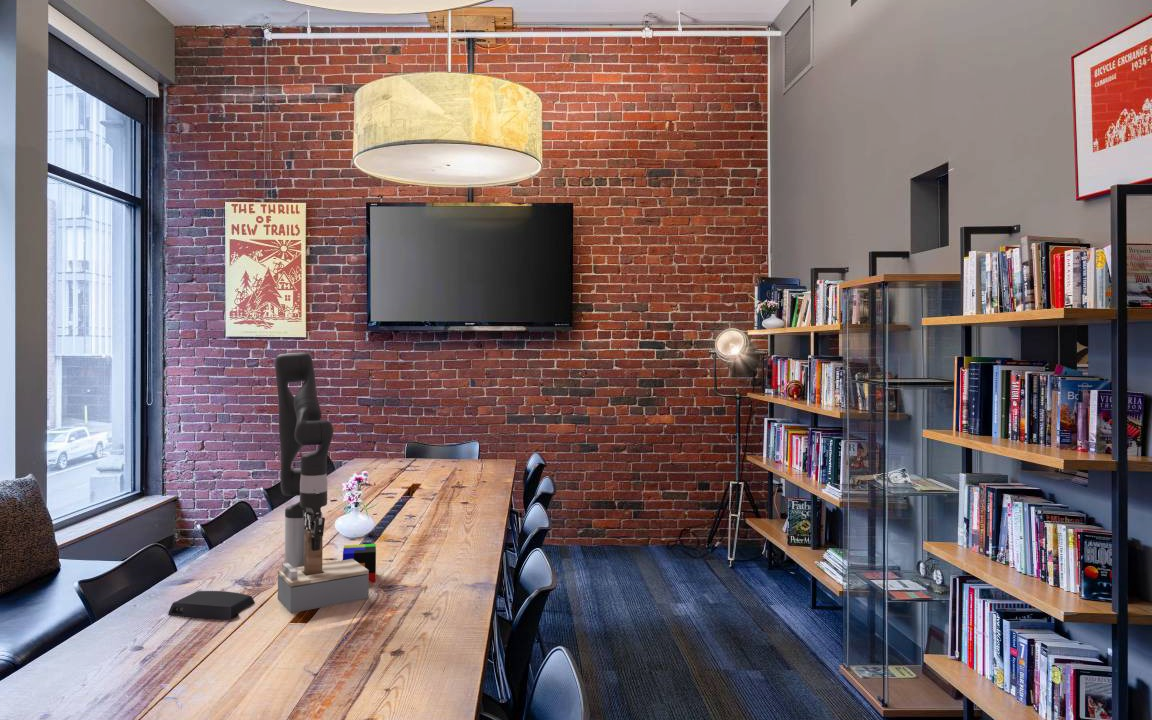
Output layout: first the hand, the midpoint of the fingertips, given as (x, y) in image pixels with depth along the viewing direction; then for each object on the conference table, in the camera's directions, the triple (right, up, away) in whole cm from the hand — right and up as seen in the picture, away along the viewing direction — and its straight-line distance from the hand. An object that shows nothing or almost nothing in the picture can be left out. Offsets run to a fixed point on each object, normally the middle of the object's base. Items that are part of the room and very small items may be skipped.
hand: (313, 548), depth 216 cm
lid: (+2, -8, +2) cm, 8 cm away
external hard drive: (-26, -17, -6) cm, 32 cm away
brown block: (0, -10, 0) cm, 10 cm away
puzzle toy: (+7, -16, +23) cm, 29 cm away
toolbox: (+2, -16, +2) cm, 16 cm away
